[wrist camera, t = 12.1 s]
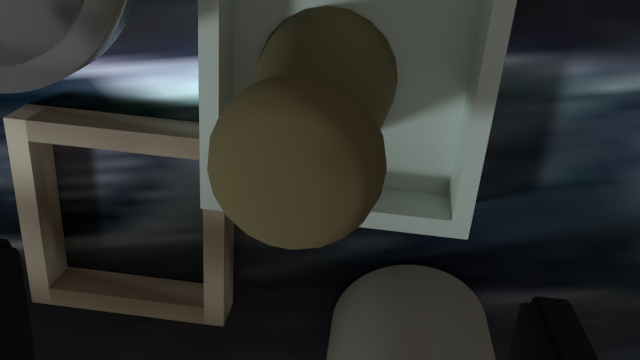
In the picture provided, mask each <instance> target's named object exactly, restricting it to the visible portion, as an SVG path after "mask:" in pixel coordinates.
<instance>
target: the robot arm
mask: <svg viewBox="0 0 640 360" xmlns="http://www.w3.org/2000/svg"><path fill="white" fill-rule="evenodd" d="M0 360H35V355H34V348H33V341H32V334H31V328H30V321H29V314H28V307H27V300H26V293H25V287H24V280H23V273H22V266H21V259H20V254H19V251H18V250H17V249H16V248H12V246H11V244H10V242H9V241H8V240H6V239H0ZM507 360H598V358H597V356H596V354H595V352H594V350H593V348H592V346H591V344H590V342H589V340H588V338H587V336H586V334H585V332H584V330H583V328H582V326H581V324H580V322H579V320H578V318H577V316H576V314H575V312H574V310H573V308H572V306H571V304H570V303H569V301H568V300H565V299H555V298H546V297H537V296H535V297H534V298H533V299H532V301H531V303H530V304H527V303H523V304H522V305H521V306H520V309H519V313H518V317H517V321H516V325H515V329H514V333H513V336H512V340H511V344H510V348H509V352H508V356H507Z"/></svg>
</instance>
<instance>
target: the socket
mask: <svg viewBox="0 0 640 360" xmlns="http://www.w3.org/2000/svg"><path fill="white" fill-rule="evenodd" d="M3 119H4V126H5V132H6V139H7V145H8V151H9V158H10V164H11V170H12V177H13V183H14V190H15V196H16V202H17V209H18V215H19V221H20V228H21V234H22V241H23V247H24V253H25V260H26V266H27V273H28V279H29V285H30V292H31V298H32V302H36V303H44V304H51V305H59V306H67V307H75V308H82V309H90V310H98V311H106V312H114V313H121V314H129V315H137V316H145V317H152V318H160V319H168V320H176V321H184V322H191V323H199V324H207V325H215V326H222V327H224V324H225V322H226V319H227V316H228V314H229V311H230V309H231V306H232V304H233V259H234V222H233V221H231V220H230V219H229V218H228V217H227V216H226V214H225V213H224V211H217V210H208V209H203V269H204V284H203V283H195V282H187V281H179V280H171V279H163V278H155V277H147V276H139V275H131V274H123V273H115V272H107V271H99V270H90V269H82V268H74V267H68V266H67V258H66V250H65V242H64V233H63V225H62V217H61V209H60V201H59V193H58V184H57V176H56V168H55V160H54V152H53V144H58V145H67V146H76V147H85V148H94V149H103V150H112V151H121V152H130V153H139V154H148V155H157V156H166V157H175V158H184V159H193V160H200V142H199V122H191V121H182V120H173V119H163V118H154V117H145V116H135V115H126V114H117V113H107V112H98V111H89V110H79V109H70V108H61V107H51V106H42V105H33V104H27V105H25V106H23V107H21V108H20V109H18V110H16V111H14V112H13V113H11V114H9V115H7V116H5V117H4V118H3Z"/></svg>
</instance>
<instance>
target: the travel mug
mask: <svg viewBox="0 0 640 360" xmlns="http://www.w3.org/2000/svg"><path fill="white" fill-rule="evenodd" d="M326 360H496V359H495V354H494V350H493V346H492V341H491V337H490V332H489V328H488V324H487V319H486V315H485V312H484V309H483V307H482V305H481V303H480V301H479V299H478V298H477V296H476V295H475V294H474V293H473V291H472V290H471V289H470V288H469V287H468V286H467V285H465V284H464V283H463V282H462V281H460V280H459V279H457V278H456V277H454V276H452V275H450V274H448V273H446V272H444V271H441V270H438V269H435V268H431V267H427V266H421V265H394V266H389V267H384V268H381V269H378V270H375V271H372V272H370V273H368V274H366V275H364V276H362V277H361V278H359V279H358V280H356V281H355V282H354V283H352V284H351V285H350V286H349V287H348V288H347V289H346V290H345V291H344V293H343V294H342V295H341V297H340V298H339V300H338V302H337V304H336V306H335V309H334V312H333V316H332V323H331V330H330V338H329V345H328V352H327V359H326Z"/></svg>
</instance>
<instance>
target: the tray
mask: <svg viewBox="0 0 640 360" xmlns="http://www.w3.org/2000/svg"><path fill="white" fill-rule="evenodd" d="M516 3H517V0H198V58H199V142H200V209H208V210H217V211H223V210H222V208H221V206H220V205H219V203H218V201H217V200H216V198H215V197H214V195H213V192H212V188H211V184H210V180H209V176H208V172H207V164H208V152H209V141H210V135H211V133H212V131H213V129H214V127H215V124H216V122H217V120H218V118H219V116H220V114H221V112H222V111H223V110H224V109H225V107H226V106H227V105H228V104H229V103H230V102H231V101H232V100H233V99H234V98H235V97H236V96H237V95H238V94H239V93H240V92H241V91H242V90H243V89H244V88H246V87H248V86H250V85H252V84H253V80H254V76H255V73H256V69H257V65H258V61H259V57H260V54H261V52H262V50H263V47H264V45H265V43H266V41H267V39H268V37H269V35H270V34H271V33H272V32H273V31H274V30H275V29H276V28H277V27H278V26H279V24H280V23H281V22H282V21H283V20H284V19H286V18H288V17H290V16H292V15H294V14H296V13H298V12H300V11H302V10H304V9H307V8H314V7H321V6H333V7H338V8H344V9H349V10H352V11H354V12H355V13H357V14H359V15H361V16H363V17H365V18H366V19H368V20H370V21H371V22H372V23H373V24H374V25H375V26H376V27H377V28H378V29H379V30H380V31H381V33H382V34H383V35H384V36H385V37H386V38H387V40H388V42H389V45H390V47H391V49H392V51H393V53H394V56H395V58H396V66H397V75H398V82H397V87H396V91H395V96H394V100H393V103H392V105H391V107H390V110H389V112H388V114H387V116H386V118H385V121H384V123H383V125H382V127H381V129H380V130H381V132H382V134H383V137H384V145H385V153H386V162H387V171H386V175H385V180H384V184H383V189H382V193H381V196H380V198H379V199H378V201H377V202H376V204H375V205H374V207H373V209H372V210H371V212H370V213H369V215H368V216H367V218H366V219H365V221H364V222H363V224H361V225H360V226H359V227H363V228H372V229H380V230H389V231H397V232H406V233H415V234H423V235H432V236H440V237H449V238H458V239H466V240H468V237H469V232H470V227H471V222H472V217H473V212H474V207H475V203H476V198H477V193H478V188H479V183H480V178H481V173H482V168H483V164H484V159H485V154H486V149H487V144H488V139H489V134H490V130H491V125H492V120H493V115H494V110H495V105H496V100H497V95H498V91H499V86H500V81H501V76H502V71H503V66H504V61H505V57H506V52H507V47H508V42H509V37H510V32H511V27H512V22H513V18H514V13H515V8H516Z"/></svg>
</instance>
